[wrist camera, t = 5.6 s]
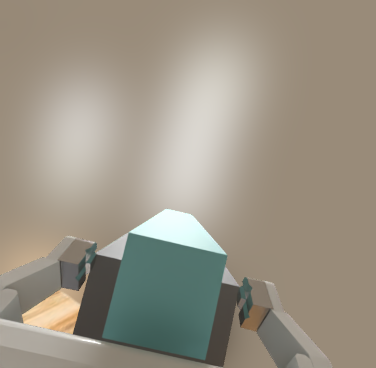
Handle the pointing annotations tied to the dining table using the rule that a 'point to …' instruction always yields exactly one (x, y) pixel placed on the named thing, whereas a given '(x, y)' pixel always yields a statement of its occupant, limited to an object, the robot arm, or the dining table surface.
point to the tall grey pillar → (103, 291)
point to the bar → (167, 286)
